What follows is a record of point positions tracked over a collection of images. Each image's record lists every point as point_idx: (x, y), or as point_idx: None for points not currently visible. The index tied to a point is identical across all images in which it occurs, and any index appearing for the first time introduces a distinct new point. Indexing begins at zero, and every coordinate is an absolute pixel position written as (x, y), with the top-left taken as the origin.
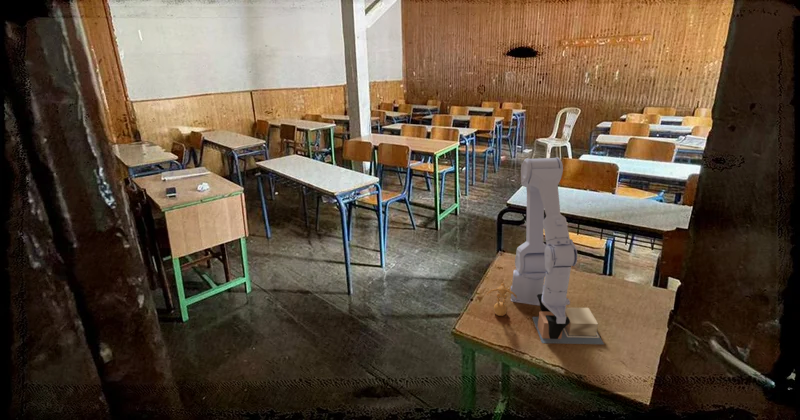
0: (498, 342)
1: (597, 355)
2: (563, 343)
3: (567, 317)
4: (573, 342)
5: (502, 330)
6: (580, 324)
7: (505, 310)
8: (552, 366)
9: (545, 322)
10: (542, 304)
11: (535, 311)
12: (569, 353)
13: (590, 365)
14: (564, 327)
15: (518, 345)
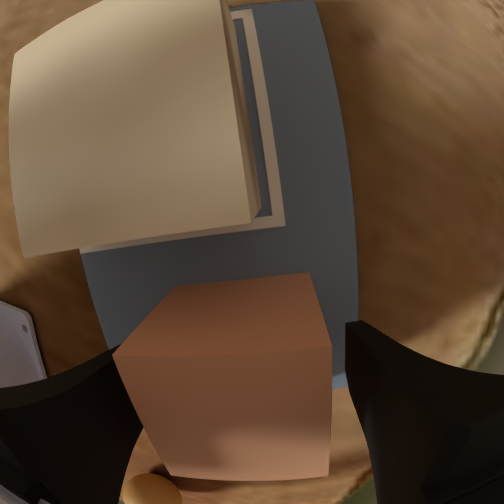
0: (336, 494)
1: (416, 69)
2: (356, 264)
3: (479, 435)
4: (340, 190)
5: (262, 488)
6: (235, 111)
7: (165, 502)
8: (492, 334)
9: (319, 470)
10: (111, 483)
11: (73, 356)
12: (428, 237)
13: (492, 143)
14: (458, 370)
15: (358, 454)
